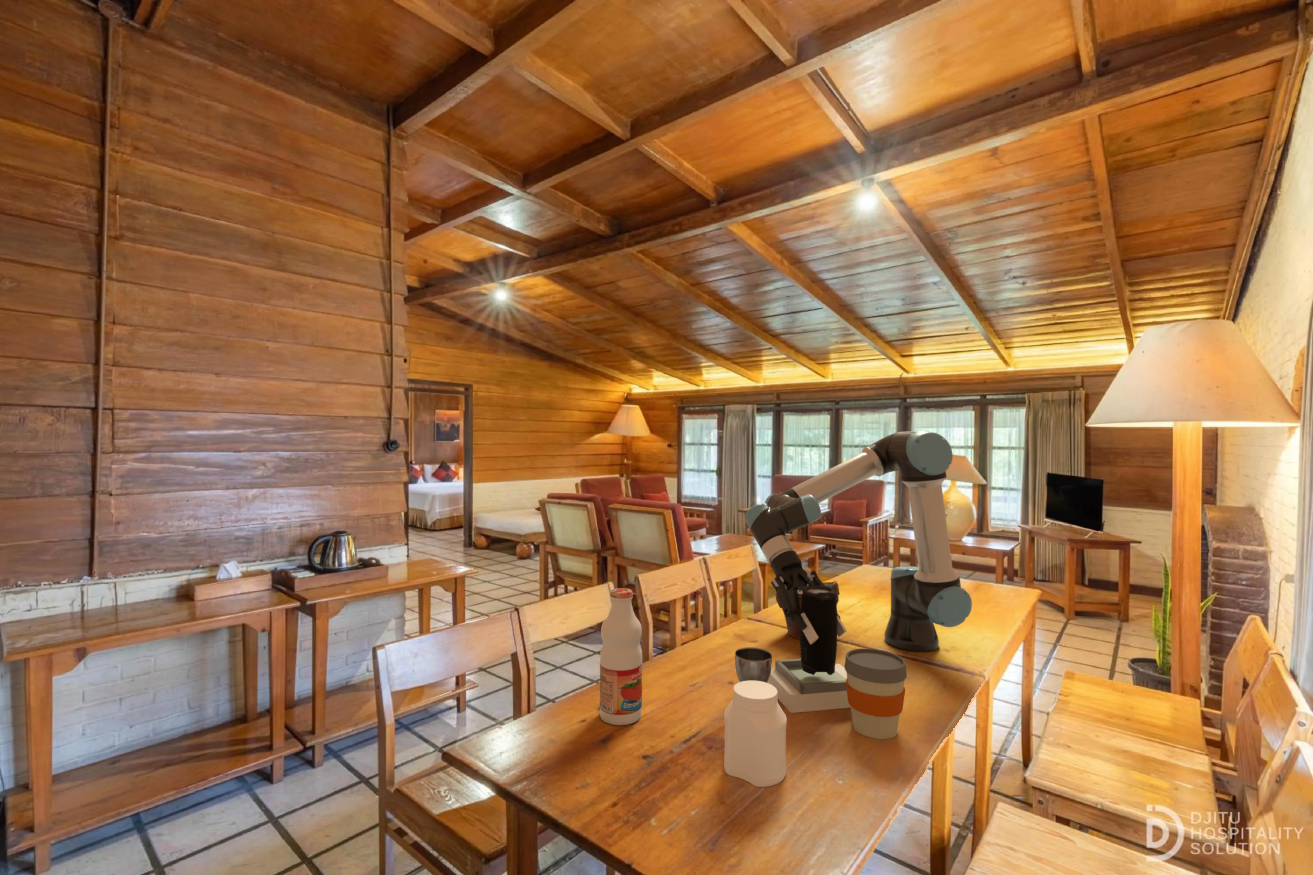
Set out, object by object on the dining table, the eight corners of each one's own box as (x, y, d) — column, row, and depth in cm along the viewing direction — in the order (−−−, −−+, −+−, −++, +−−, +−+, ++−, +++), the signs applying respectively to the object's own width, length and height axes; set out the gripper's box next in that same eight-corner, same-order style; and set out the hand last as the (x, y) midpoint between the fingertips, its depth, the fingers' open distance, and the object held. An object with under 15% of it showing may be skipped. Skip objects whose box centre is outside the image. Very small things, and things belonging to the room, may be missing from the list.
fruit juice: (610, 703, 136) (611, 583, 136) (648, 710, 133) (648, 587, 132) (592, 722, 127) (593, 593, 127) (632, 729, 124) (633, 598, 124)
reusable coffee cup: (908, 748, 117) (908, 673, 117) (842, 736, 121) (843, 664, 121) (904, 719, 129) (905, 652, 129) (845, 710, 133) (845, 644, 133)
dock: (856, 677, 151) (856, 654, 151) (890, 703, 137) (890, 678, 137) (765, 684, 146) (765, 661, 146) (790, 712, 132) (791, 686, 132)
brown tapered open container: (767, 626, 192) (769, 571, 191) (826, 624, 194) (827, 571, 193) (785, 646, 174) (787, 587, 173) (850, 645, 176) (851, 586, 176)
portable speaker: (825, 661, 145) (826, 583, 145) (843, 676, 136) (845, 593, 136) (793, 663, 144) (794, 584, 144) (809, 678, 135) (810, 594, 135)
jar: (794, 768, 110) (794, 689, 110) (770, 792, 102) (771, 707, 102) (740, 748, 117) (741, 673, 117) (715, 769, 109) (715, 689, 109)
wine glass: (773, 716, 130) (774, 649, 130) (768, 734, 122) (769, 662, 122) (738, 711, 132) (738, 645, 132) (731, 727, 125) (731, 657, 125)
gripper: (804, 561, 159) (851, 637, 145) (742, 570, 147) (787, 653, 134) (819, 545, 154) (868, 622, 141) (757, 553, 143) (804, 637, 129)
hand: (828, 637), depth 137 cm, fingers closed on portable speaker, 9 cm apart
